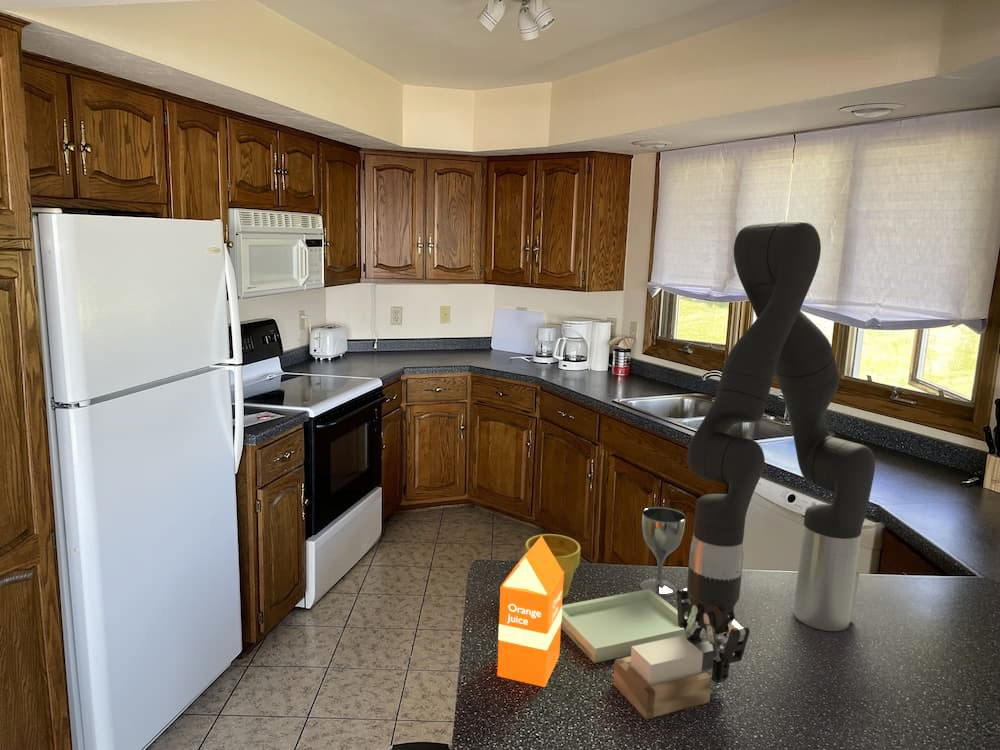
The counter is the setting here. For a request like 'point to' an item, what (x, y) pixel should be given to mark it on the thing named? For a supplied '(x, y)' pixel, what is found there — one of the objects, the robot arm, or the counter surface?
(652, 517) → the wine glass
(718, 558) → the robot arm
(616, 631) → the tray
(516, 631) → the orange juice
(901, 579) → the counter surface
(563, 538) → the plant pot
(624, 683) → the dock
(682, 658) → the cream and grey blocks
